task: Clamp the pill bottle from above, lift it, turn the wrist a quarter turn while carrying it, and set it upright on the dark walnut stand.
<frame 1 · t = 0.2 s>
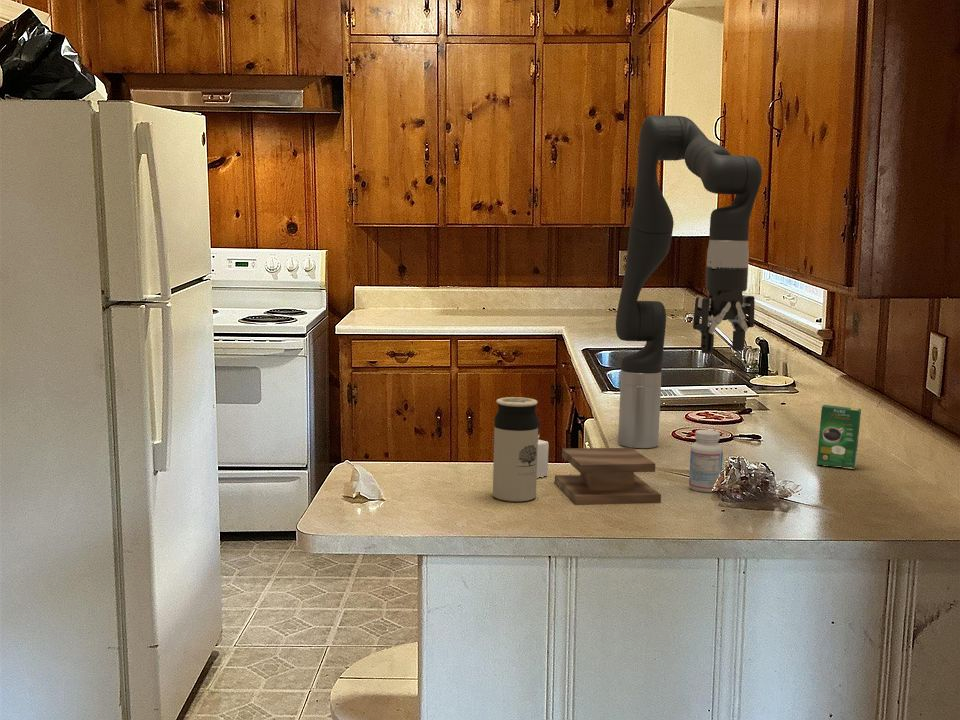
hand: (722, 352, 194), 27 cm above the worktop, tool pointing down, fingers open, 8 cm apart
pill bottle: (704, 490, 200), on the worktop
coffee box: (836, 468, 222), on the worktop
medicine bottle: (523, 477, 207), on the worktop
travel mug: (514, 498, 191), on the worktop
walnut stand: (605, 492, 196), on the worktop
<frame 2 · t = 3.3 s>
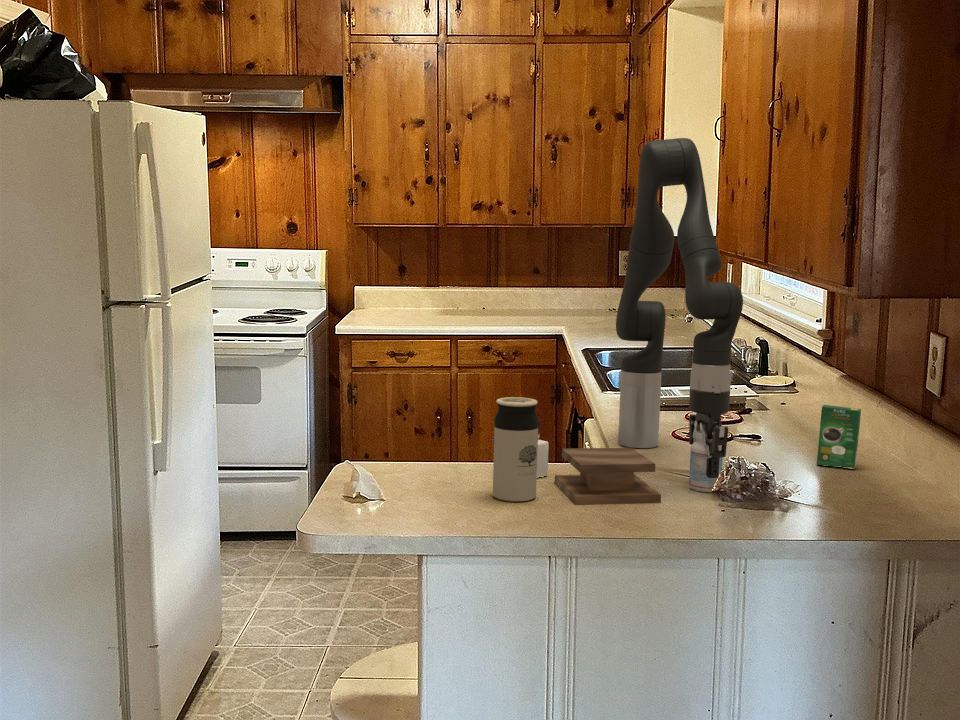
hand: (705, 473, 199), 3 cm above the worktop, tool pointing down, fingers closed on pill bottle, 6 cm apart
pill bottle: (704, 490, 200), on the worktop, touching gripper
everything else where it was.
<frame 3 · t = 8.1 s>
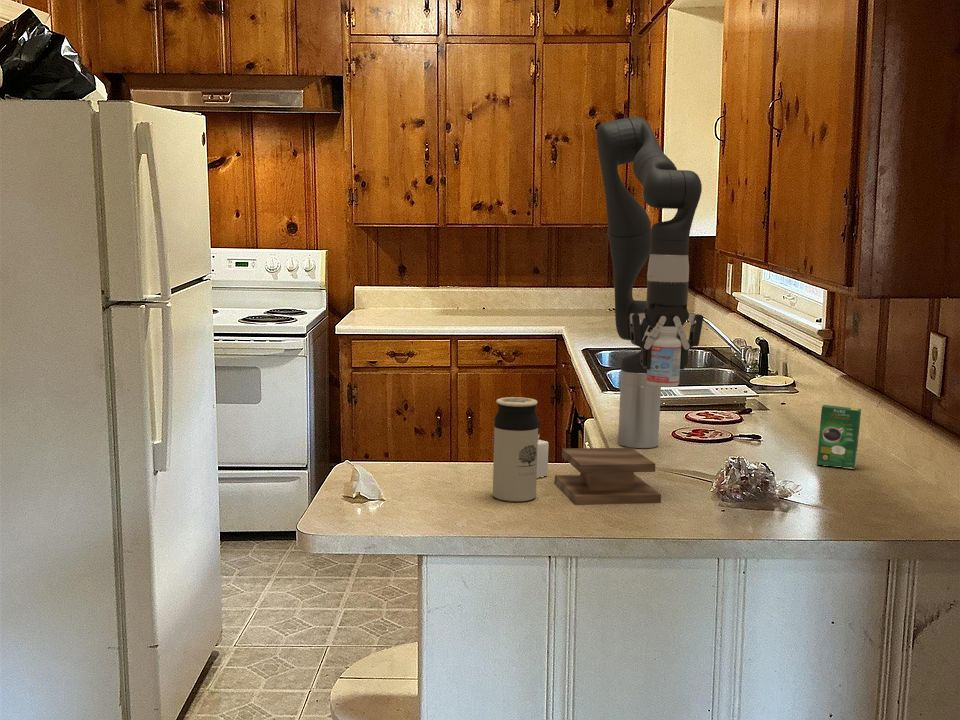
hand: (663, 368, 194), 24 cm above the worktop, tool pointing down, fingers closed on pill bottle, 6 cm apart
pill bottle: (662, 386, 195), point 20 cm above the worktop, touching gripper
everything else where it was.
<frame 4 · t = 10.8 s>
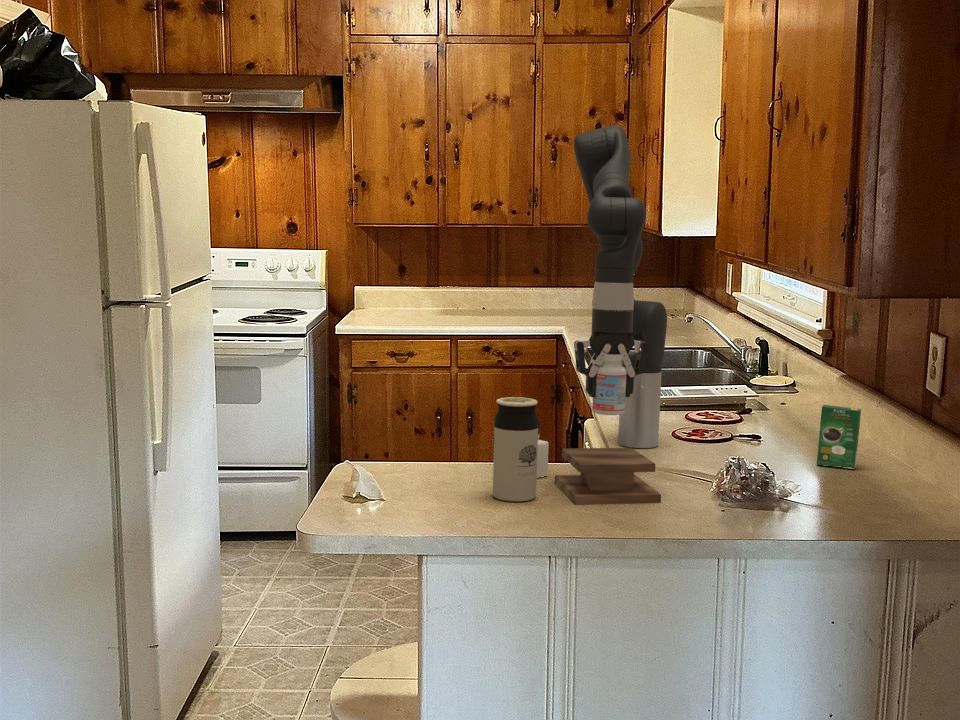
hand: (609, 396, 193), 18 cm above the worktop, tool pointing down, fingers closed on pill bottle, 6 cm apart
pill bottle: (608, 414, 194), point 15 cm above the worktop, touching gripper
everything else where it was.
when the fingers open (11 cm above the worktop, at t = 12.9 s): pill bottle drops 1 cm, resting on walnut stand.
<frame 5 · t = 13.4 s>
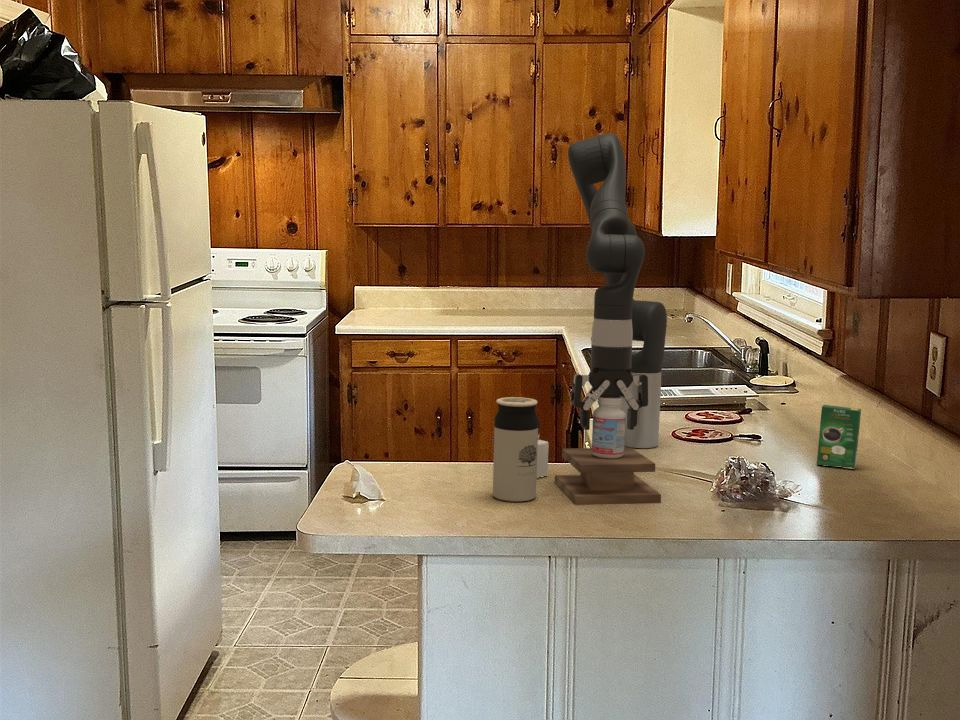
hand: (608, 429, 194), 12 cm above the worktop, tool pointing down, fingers open, 8 cm apart
pill bottle: (607, 456, 195), point 7 cm above the worktop, touching walnut stand
everything else where it was.
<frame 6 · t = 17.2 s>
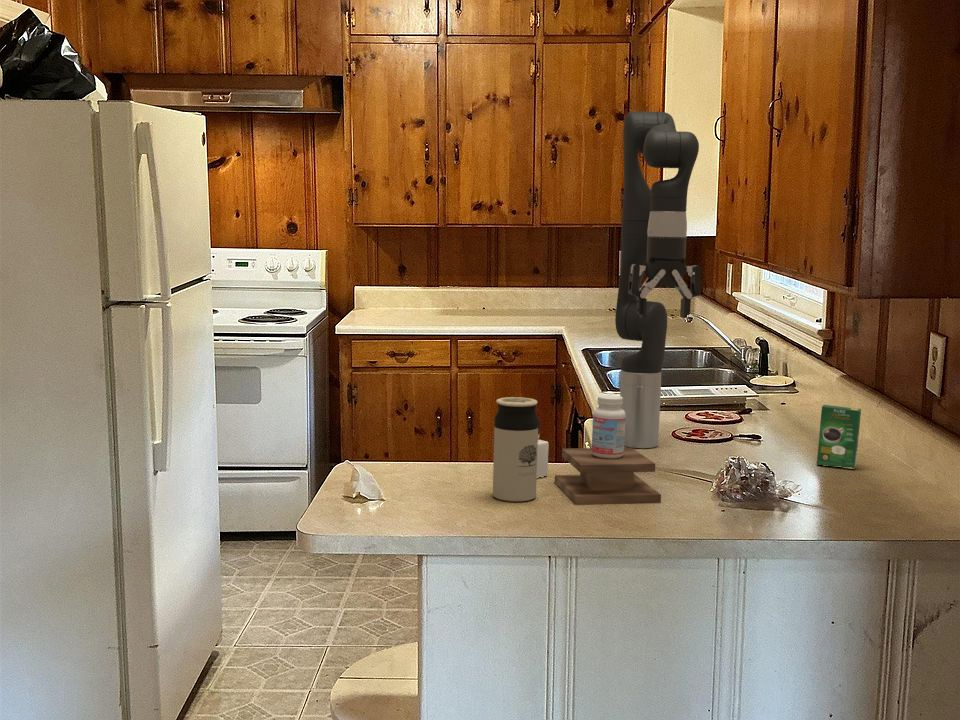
hand: (663, 317, 206), 32 cm above the worktop, tool pointing down, fingers open, 8 cm apart
nothing on the worktop moved.
at the end: pill bottle inside the target area on the walnut stand (0.1 cm from its centre), point 6.8 cm above the walnut stand's base; pill bottle tilted 0°; the gripper is holding nothing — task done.
